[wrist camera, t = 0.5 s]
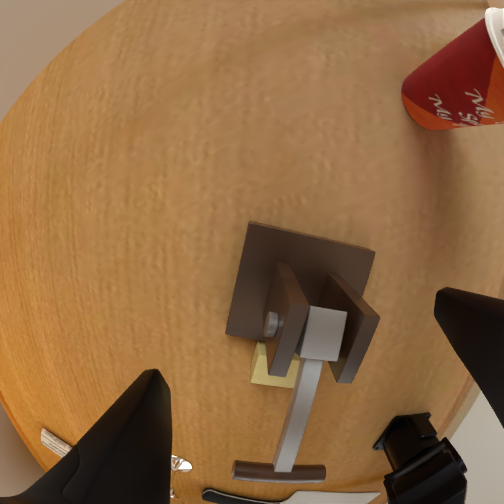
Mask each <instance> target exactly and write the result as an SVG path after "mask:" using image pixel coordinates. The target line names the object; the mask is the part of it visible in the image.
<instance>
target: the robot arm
mask: <svg viewBox="0 0 504 504" xmlns="http://www.w3.org/2000/svg"><path fill="white" fill-rule="evenodd" d="M434 316H435V318H436V320H437V322H438V323H439V325H440V327H441V328H442V330H443V332H444V333H445V335H446V337H447V338H448V340H449V342H450V344H451V345H452V347H453V349H454V350H455V352H456V353H457V355H458V356H459V358H460V359H461V361H462V362H463V363H464V365H465V366H466V368H467V369H468V371H469V372H470V374H471V375H472V377H473V378H474V380H475V381H476V383H477V384H478V386H479V388H480V389H481V391H482V392H483V394H484V395H485V397H486V399H487V400H488V402H489V404H490V405H491V407H492V409H493V410H494V412H495V414H496V416H497V417H498V419H499V421H500V423H501V425H502V426H503V428H504V300H501V299H497V298H493V297H489V296H484V295H480V294H476V293H472V292H467V291H463V290H459V289H454V288H450V287H445V288H443V289H441V290H439V291H438V292H437V293H436V299H435V306H434ZM430 417H431V414H430V413H422V414H413V415H403V416H396V417H395V418H394V419H393V420H392V422H391V423H390V425H389V426H388V427H387V429H386V430H385V432H384V433H383V434H382V436H381V437H380V438H379V440H378V441H377V442H376V444H375V445H374V446H373V449H374V450H382V449H384V452H385V454H386V456H387V458H388V461H389V463H390V465H391V467H392V470H393V472H391V473H390V474H386V475H385V476H384V478H385V480H384V481H383V483H384V486H385V488H386V492H387V499H388V504H465V500H466V494H467V480H466V478H465V476H464V473H466V472H467V468H466V466H465V464H464V462H463V460H462V459H461V457H460V455H459V454H458V452H457V451H456V450H455V448H454V447H453V446H452V444H451V443H450V442H449V440H448V439H447V438H446V437H444V438H443V439H442V440H441V441H439V440H438V438H437V437H436V435H437V432H436V430H435V429H434V427H433V426H432V424H431V423H430V421H429V418H430ZM171 455H172V416H171V393H170V388H169V386H168V384H167V383H166V381H165V379H164V378H163V376H162V374H161V373H160V371H159V370H158V369H149V370H145V371H143V372H142V373H141V375H140V376H139V377H138V378H137V379H136V380H135V381H134V382H133V383H132V384H131V385H130V386H129V387H128V389H127V390H126V391H125V392H124V393H123V394H122V395H121V396H120V397H119V398H118V399H117V400H116V401H115V403H114V404H113V405H112V406H111V407H110V408H109V409H108V410H107V411H106V412H105V413H104V414H103V415H102V416H101V418H100V419H99V420H98V421H97V422H96V423H95V424H94V425H93V426H92V427H91V428H90V429H89V430H88V431H87V433H86V434H85V435H84V436H83V437H82V438H81V439H80V440H79V441H78V442H77V444H75V445H74V446H73V447H72V449H71V450H70V451H69V452H68V453H67V454H66V455H65V456H64V457H63V458H62V459H61V460H60V461H59V462H58V463H57V464H56V465H55V466H53V467H52V468H51V469H50V470H49V471H48V472H47V473H46V474H44V475H43V476H42V477H41V478H40V479H39V480H38V481H36V482H35V483H34V484H33V485H32V486H30V487H29V488H28V489H27V490H26V491H24V492H23V493H21V494H19V495H16V496H11V497H0V504H170V484H171Z"/></svg>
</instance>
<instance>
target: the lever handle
mask: <svg viewBox="0 0 504 504" xmlns="http://www.w3.org/2000/svg"><path fill="white" fill-rule="evenodd" d="M346 317H347V312H345V311H338V310H332V309H326V308H321V307H315V306H310V307H309V310H308V313H307V317H306V320H305V323H304V326H303V329H302V332H301V335H300V338H299V341H298V344H297V347H296V350H295V353H296V354H297V355H298V356H299V357H301V359H300V363H299V367H298V371H297V376H296V380H295V384H294V388H293V392H292V396H291V400H290V404H289V407H288V411H287V415H286V418H285V422H284V426H283V429H282V433H281V436H280V440H279V443H278V446H277V450H276V453H275V456H274V459H273V463H272V464H271V463H259V462H248V461H240V460H235V461H234V463H233V467H232V474H231V477H232V479H234V480H243V481H254V482H268V483H321V482H323V481H324V480H325V477H326V468H325V466H324V465H293V464H294V462H295V459H296V456H297V453H298V450H299V447H300V444H301V441H302V437H303V434H304V431H305V428H306V424H307V421H308V418H309V414H310V411H311V407H312V404H313V400H314V396H315V393H316V389H317V385H318V381H319V377H320V373H321V369H322V365H323V360H326V361H337V360H338V356H339V351H340V347H341V342H342V338H343V333H344V328H345V323H346Z"/></svg>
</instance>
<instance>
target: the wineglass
mask: <svg viewBox="0 0 504 504" xmlns="http://www.w3.org/2000/svg"><path fill="white" fill-rule="evenodd" d="M191 469H192V465H191V464H190V463H189V462H188V461H186V460H185V459H183V458H180V457H177V456H171V470H172V474H171V484H170V504H185V503H184V502H183V501H181V500H180V499H178V498H177V497H175V496H173V495H171V494H172V493H173V491H174V487H173V481H174V476H175V473H176V472H189V471H190V470H191Z"/></svg>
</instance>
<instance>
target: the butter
mask: <svg viewBox="0 0 504 504" xmlns="http://www.w3.org/2000/svg"><path fill="white" fill-rule="evenodd" d="M300 359H301V357H299V356H298V355H297V354H296V353H294V355H293V358H292V361H291V364H290V367H289V369H288V372H287V375H286V377H278V376H270V375H268V369H267V358H266V346H265V341H259V340H257V344H256V348H255V351H254V355H253V359H252V362H251V383H257V384H264V385H271V386H278V387H287V388H294V384H295V380H296V376H297V371H298V367H299V363H300Z"/></svg>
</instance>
